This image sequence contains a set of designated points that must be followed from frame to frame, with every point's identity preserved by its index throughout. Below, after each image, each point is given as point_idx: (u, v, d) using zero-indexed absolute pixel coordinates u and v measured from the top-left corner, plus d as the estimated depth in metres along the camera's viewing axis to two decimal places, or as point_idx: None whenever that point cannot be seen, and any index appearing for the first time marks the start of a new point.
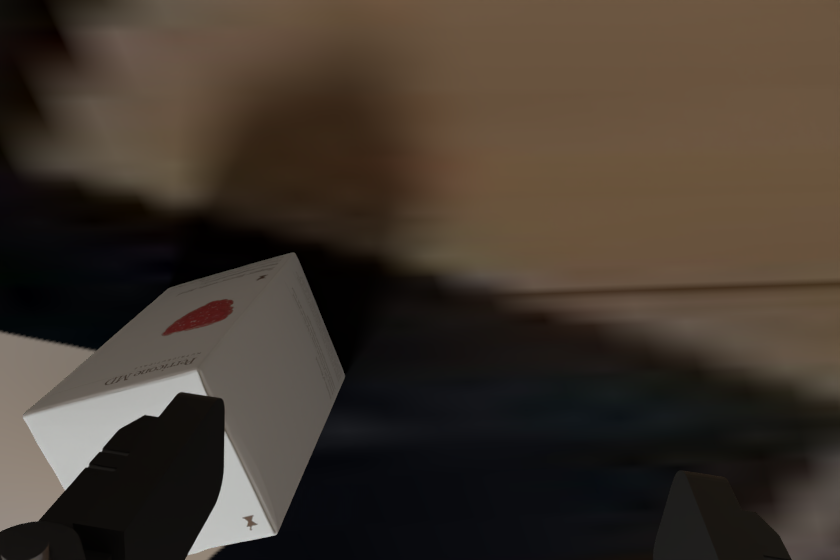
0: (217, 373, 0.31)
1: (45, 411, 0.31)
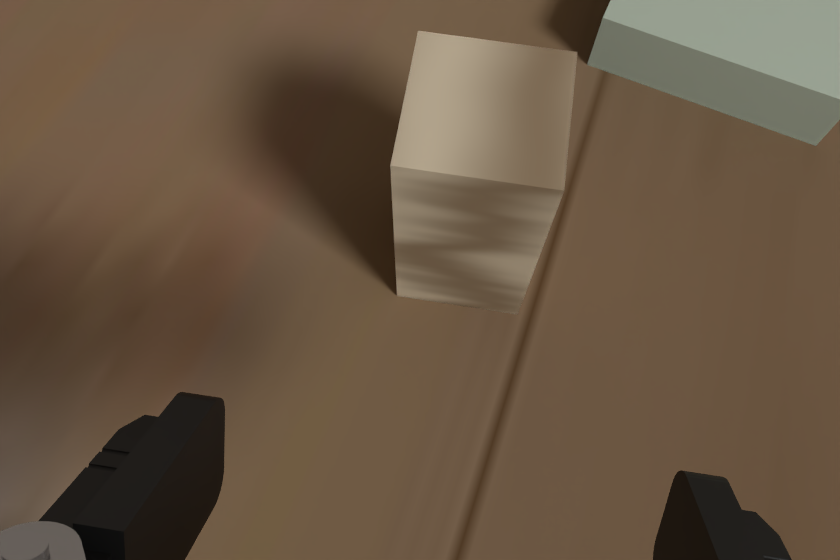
0: None
1: None
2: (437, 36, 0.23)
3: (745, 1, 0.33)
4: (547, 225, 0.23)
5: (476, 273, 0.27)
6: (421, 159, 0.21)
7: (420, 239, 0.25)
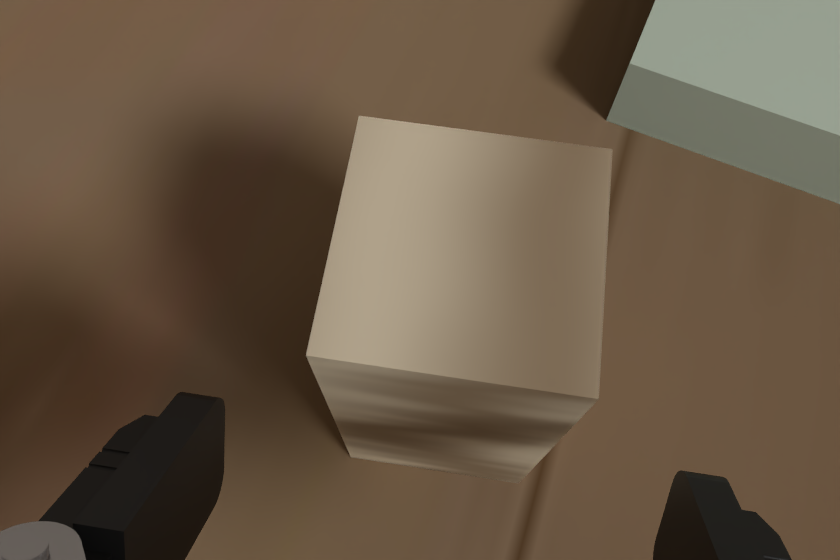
0: None
1: None
2: (390, 125, 0.14)
3: (820, 39, 0.24)
4: (567, 425, 0.14)
5: (458, 451, 0.18)
6: (357, 343, 0.13)
7: (372, 420, 0.17)
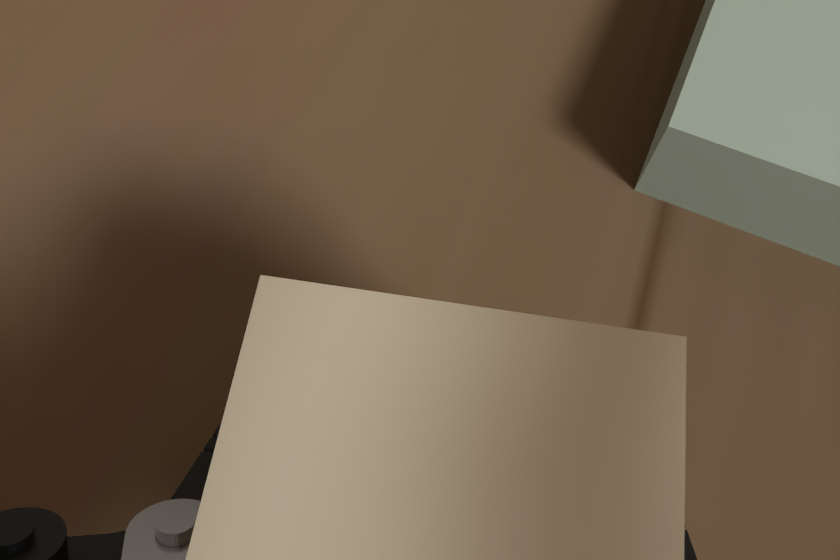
0: None
1: None
2: (310, 292, 0.09)
3: None
4: None
5: None
6: None
7: None
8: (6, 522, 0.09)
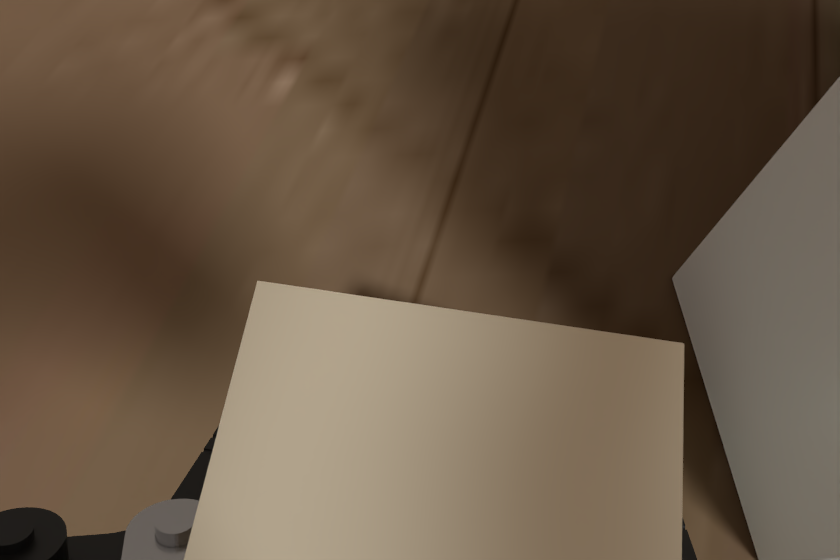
0: None
1: None
2: (308, 297, 0.09)
3: None
4: None
5: None
6: None
7: None
8: (7, 521, 0.09)
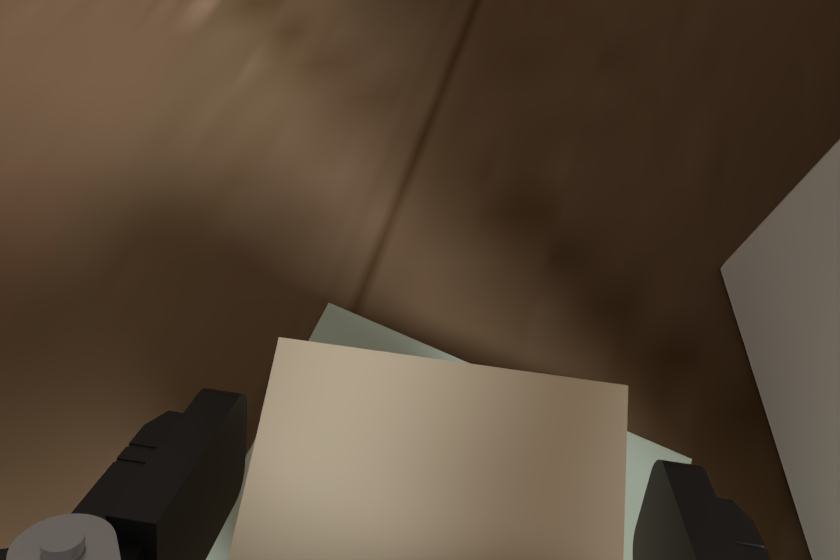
0: None
1: None
2: (321, 351, 0.10)
3: None
4: None
5: None
6: None
7: None
8: None
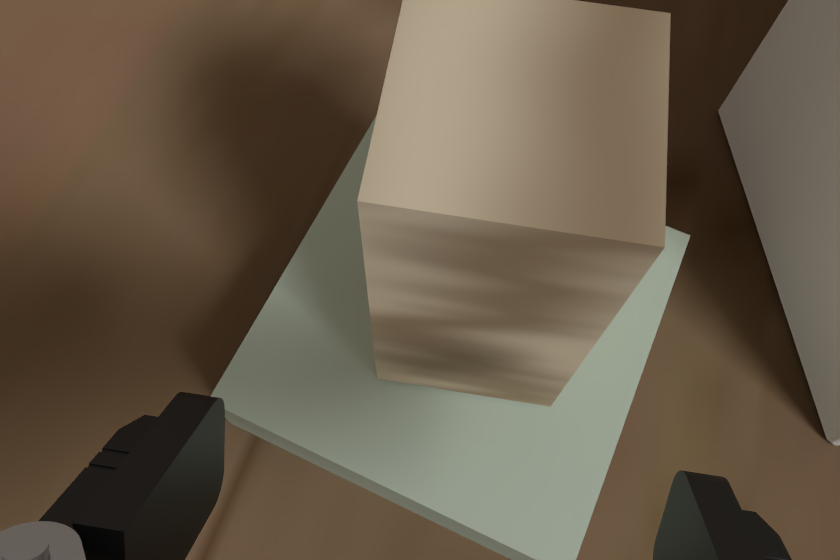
0: None
1: None
2: None
3: None
4: (621, 299, 0.14)
5: (495, 357, 0.18)
6: (411, 191, 0.12)
7: (411, 312, 0.16)
8: None
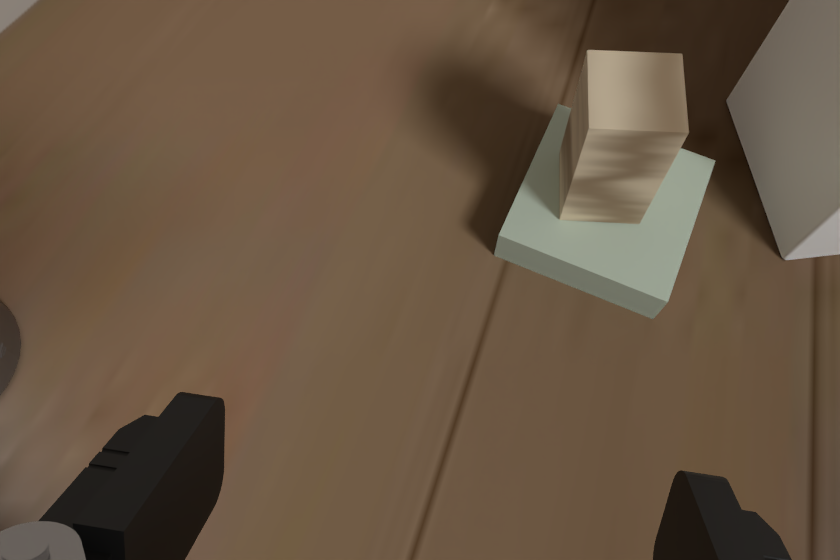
0: None
1: None
2: (599, 52, 0.39)
3: None
4: (674, 156, 0.39)
5: (619, 195, 0.43)
6: (605, 123, 0.37)
7: (590, 175, 0.41)
8: None
